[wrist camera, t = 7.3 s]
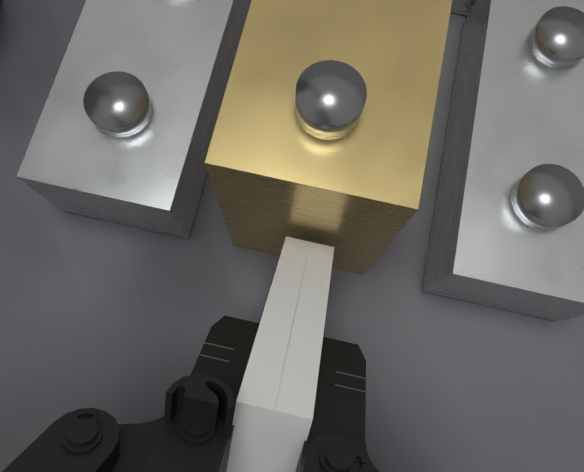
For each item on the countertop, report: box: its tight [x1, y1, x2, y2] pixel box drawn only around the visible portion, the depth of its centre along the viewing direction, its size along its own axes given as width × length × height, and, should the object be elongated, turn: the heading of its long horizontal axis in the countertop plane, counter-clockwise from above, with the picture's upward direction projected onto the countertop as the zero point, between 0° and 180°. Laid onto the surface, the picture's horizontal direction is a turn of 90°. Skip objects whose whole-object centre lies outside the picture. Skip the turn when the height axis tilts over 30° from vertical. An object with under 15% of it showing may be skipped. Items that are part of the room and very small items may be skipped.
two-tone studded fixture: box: [17, 0, 584, 321], centre depth 18 cm, size 14×19×5 cm
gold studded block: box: [205, 0, 452, 274], centre depth 17 cm, size 12×5×9 cm, turn 167°
